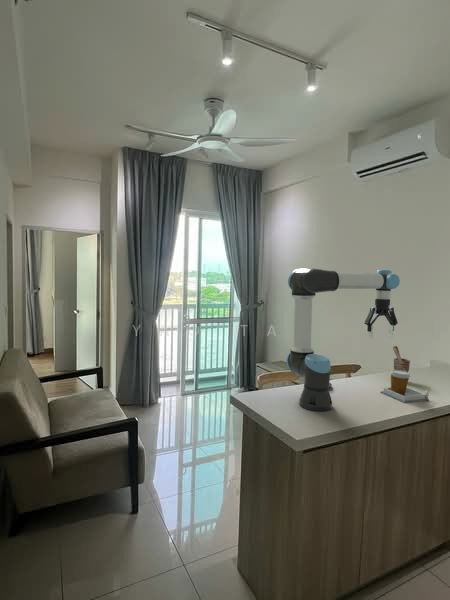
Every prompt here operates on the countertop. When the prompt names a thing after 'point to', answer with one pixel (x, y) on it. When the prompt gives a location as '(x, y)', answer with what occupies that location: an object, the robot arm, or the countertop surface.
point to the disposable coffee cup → (399, 381)
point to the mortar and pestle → (400, 361)
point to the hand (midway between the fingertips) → (380, 337)
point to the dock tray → (406, 395)
